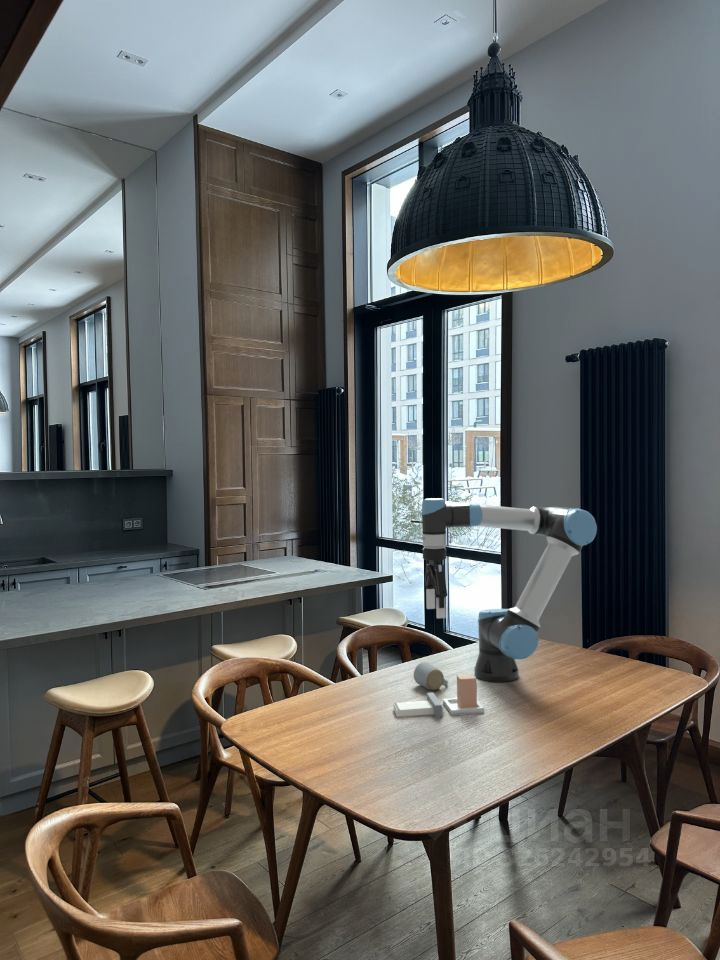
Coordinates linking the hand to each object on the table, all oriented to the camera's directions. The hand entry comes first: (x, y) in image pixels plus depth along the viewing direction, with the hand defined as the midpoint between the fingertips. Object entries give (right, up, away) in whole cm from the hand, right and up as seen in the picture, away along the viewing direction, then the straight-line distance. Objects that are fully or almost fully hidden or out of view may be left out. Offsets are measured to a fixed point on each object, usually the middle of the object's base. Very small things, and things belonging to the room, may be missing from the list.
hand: (435, 613), depth 219 cm
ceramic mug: (0, -27, +10) cm, 29 cm away
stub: (+8, -26, -10) cm, 29 cm away
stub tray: (+7, -27, -10) cm, 30 cm away
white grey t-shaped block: (-7, -27, -12) cm, 31 cm away
